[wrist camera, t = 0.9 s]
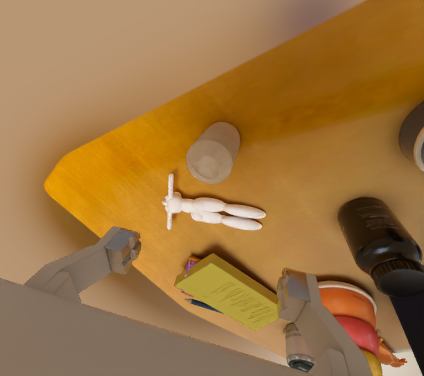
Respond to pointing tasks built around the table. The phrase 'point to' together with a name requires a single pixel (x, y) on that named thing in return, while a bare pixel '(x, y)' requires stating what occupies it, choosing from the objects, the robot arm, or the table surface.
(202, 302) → the pencil
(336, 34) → the table surface
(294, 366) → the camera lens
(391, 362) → the figurine
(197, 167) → the candle
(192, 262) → the toy car
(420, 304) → the decorative box
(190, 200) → the decorative figure
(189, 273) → the flat olive board
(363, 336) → the stacking toy
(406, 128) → the cup stack
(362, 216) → the supplement bottle
